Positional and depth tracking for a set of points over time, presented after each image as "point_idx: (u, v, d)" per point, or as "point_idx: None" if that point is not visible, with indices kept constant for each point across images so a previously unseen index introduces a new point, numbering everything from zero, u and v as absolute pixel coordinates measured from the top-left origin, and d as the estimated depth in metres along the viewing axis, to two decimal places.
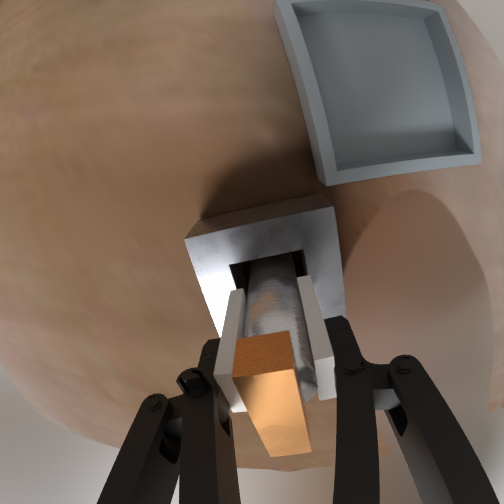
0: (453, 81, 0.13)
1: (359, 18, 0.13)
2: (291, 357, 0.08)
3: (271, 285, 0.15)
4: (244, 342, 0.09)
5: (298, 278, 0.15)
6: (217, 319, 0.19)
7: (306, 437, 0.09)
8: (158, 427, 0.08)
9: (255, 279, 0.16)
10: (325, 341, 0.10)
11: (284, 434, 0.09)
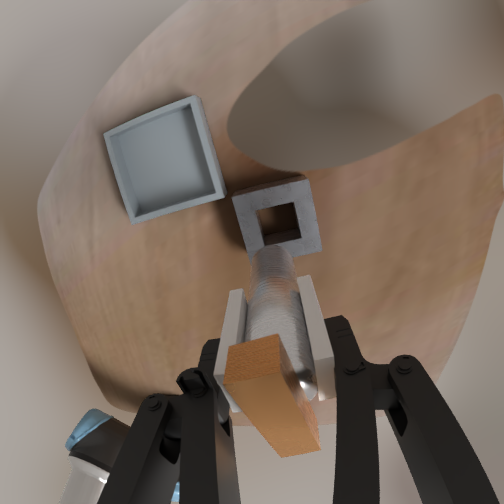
0: (151, 119, 0.30)
1: (132, 176, 0.34)
2: (279, 360, 0.08)
3: (268, 288, 0.15)
4: (235, 349, 0.09)
5: (298, 278, 0.15)
6: (298, 253, 0.34)
7: (311, 436, 0.09)
8: (158, 427, 0.08)
9: (254, 283, 0.16)
10: (325, 341, 0.10)
11: (287, 434, 0.09)
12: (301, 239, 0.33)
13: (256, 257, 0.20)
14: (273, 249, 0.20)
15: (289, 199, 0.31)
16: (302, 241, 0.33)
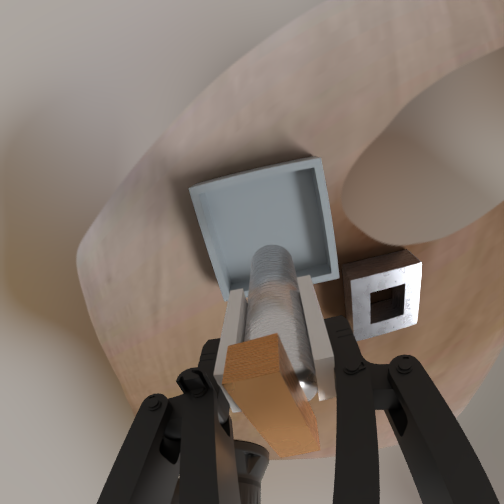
0: None
1: (222, 241, 0.31)
2: (278, 360, 0.08)
3: (268, 287, 0.15)
4: (235, 348, 0.09)
5: (298, 278, 0.15)
6: (397, 328, 0.31)
7: (311, 436, 0.09)
8: (158, 427, 0.08)
9: (253, 282, 0.16)
10: (325, 341, 0.10)
11: (287, 434, 0.09)
12: (403, 315, 0.30)
13: (256, 257, 0.20)
14: (273, 249, 0.20)
15: (402, 281, 0.28)
16: (403, 317, 0.30)
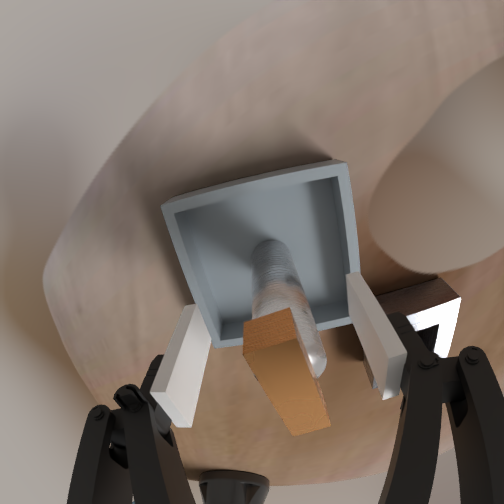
0: None
1: (210, 273, 0.23)
2: (294, 329, 0.09)
3: (272, 276, 0.16)
4: (251, 323, 0.10)
5: (347, 275, 0.14)
6: None
7: (323, 410, 0.10)
8: (104, 433, 0.08)
9: (256, 273, 0.17)
10: (394, 338, 0.09)
11: (301, 408, 0.10)
12: None
13: (256, 251, 0.21)
14: (272, 243, 0.21)
15: (436, 321, 0.20)
16: None
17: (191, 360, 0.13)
